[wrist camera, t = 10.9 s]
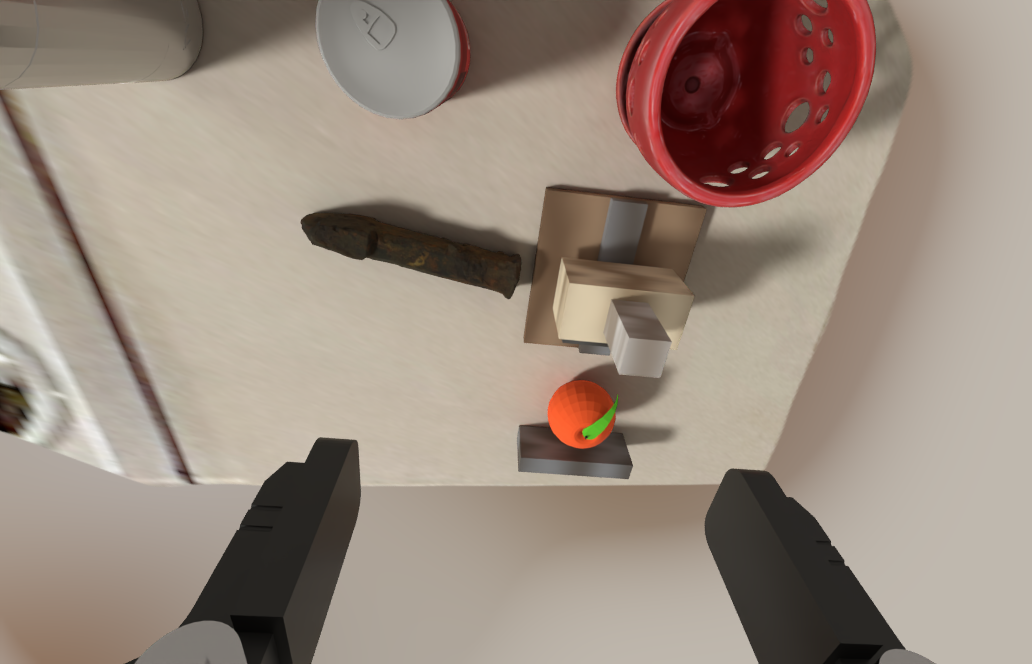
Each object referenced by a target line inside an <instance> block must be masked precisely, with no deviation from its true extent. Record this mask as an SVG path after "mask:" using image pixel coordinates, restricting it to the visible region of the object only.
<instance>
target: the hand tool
mask: <svg viewBox="0 0 1032 664" xmlns="http://www.w3.org/2000/svg"><path fill="white" fill-rule="evenodd" d="M301 224H302V229H303V231H304V232H305V234H306V235H307V237H308V239H309V240H310V241H311V243H312V244H313V245H316V246H319V247H322V248H325V249H328V250H332V251H334V252H337V253H340V254H342V255H344V256H347V257H350V258H353V259H359V260H363V259H365V258H371V259H373V260H378V261H383V262H387V263H392V264H396V265H399V266H401V267H405V268H409V269H413V270H416V271H420V272H423V273H427V274H431V275H434V276H438V277H442V278H446V279H450V280H453V281H457V282H461V283H465V284H469V285H474V286H478V287H482V288H486V289H490V290H493V291H496V292H499V293H502V294H503V295H504V297H506V298H507V299H510V298H511V297H512V295H513V293H514V290H515V288H516V285H517V283H518V281H519V278H520V271H521V257H520V255H519V254H515V255H512V256H508V255H506V254H505V253H503V252H501V251H498V252H492V251H488V250H485V249H482V248H480V247H477V246H471V245H469V244H460V243H456V242H452V241H450V240H447V239H445V238H439V237H434V236H430V235H426V234H422V233H418V232H414V231H411V230H407V229H403V228H399V227H395V226H392V225H388V224H384V223H381V222H379V221H377V220H376V219H375V218H371V217H366V216H360V215H353V214H336V213H313V214H309V215H306V216H305V217H304V218H303V219H301Z"/></svg>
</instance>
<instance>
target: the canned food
mask: <svg viewBox="0 0 1032 664" xmlns="http://www.w3.org/2000/svg"><path fill="white" fill-rule="evenodd" d="M315 27H316V34H317V42H318V46H319V49H320V52H321V56H322V59H323V61H324V63H325V65H326V67H327V69H328V71H329V73H330V75H331V76H332V78H333V79H334V81H335V82H336V83H337V85H338V86H339V87H340V89H341V90H342V91H343V92H344V93H345V94H346V95H347V96H348V97H349V98H350V99H351V100H353V101H354V102H355V103H357V104H358V105H359V106H361V107H362V108H364V109H366V110H368V111H370V112H372V113H374V114H377V115H380V116H383V117H386V118H394V119H409V118H416V117H418V116H421V115H424V114H427V113H429V112H430V111H432V110H434V109H435V108H437V107H438V106H440V105H441V104H443V103H444V102H445V101H447V100H448V99H449V98H451V97H452V96H453V95H454V94H455V93H456V92H457V91H458V90H459V88H460V87H461V85H462V84H463V82H464V80H465V78H466V75H467V73H468V69H469V63H470V43H469V37H468V34H467V31H466V28H465V25H464V22H463V21H462V19H461V17H460V15H459V13H458V12H457V10H456V9H455V8H454V6H453V5H452V4H451V2H450V1H449V0H318V4H317V8H316V24H315Z"/></svg>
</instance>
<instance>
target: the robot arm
mask: <svg viewBox="0 0 1032 664" xmlns="http://www.w3.org/2000/svg"><path fill="white" fill-rule="evenodd" d="M202 36H203V29H202V17H201V13H200V10H199V6H198V2H197V0H0V90H4V89H23V88H41V87H60V86H79V85H97V84H116V83H138V82H155V81H166V80H171V79H174V78H176V77H179V76H181V75H182V74H183V73H185V72H186V71H187V70H189V69H190V67H191V66H192V65H193V63H194V62H195V61H196V59H197V57H198V54H199V51H200V49H201V44H202ZM360 497H361V486H360V468H359V450H358V442H357V440H349V439H335V438H322V437H320V438H318V439H317V440H316V441H315V443H314V445H313V447H312V449H311V451H310V453H309V455H308V457H307V459H306V461H305V463H298V462H286V463H285V464H284V465H283V466H282V467H280V468H279V469H278V470H277V471H276V472H275V473H274V474H272V475H271V476H270V477H269V478H268V479H267V480H266V481H265V482H264V484H263V485H262V487H261V489H260V491H259V492H258V494H257V496H256V498H255V500H254V501H253V503H252V506H251V509H250V510H248V512H247V513H246V515H245V517H244V519H243V521H242V523H241V524H240V529H239V530H237V531H236V533H235V535H234V537H233V538H232V540H231V542H230V544H229V545H228V547H227V549H226V550H225V552H224V554H223V556H222V558H221V560H220V561H219V563H218V565H217V566H216V568H215V570H214V572H213V574H212V575H211V577H210V579H209V581H208V582H207V584H206V586H205V587H204V589H203V591H202V593H201V595H200V596H199V598H198V600H197V602H196V604H195V605H194V607H193V609H192V610H191V612H190V613H189V615H188V616H187V618H186V619H185V620H184V621H183V623H182V624H181V625H180V626H179V628H177V629H175V630H173V631H172V632H170V633H168V634H166V635H165V636H163V637H162V638H161V639H159V640H158V641H156V642H155V643H154V644H153V645H151V646H150V647H149V648H148V649H147V650H146V651H145V652H144V653H143V654H142V655H141V656H140V657H139V658H137V659H134V660H132V661H130V662H128V663H125V664H311V662H312V659H313V656H314V653H315V650H316V646H317V643H318V640H319V637H320V634H321V631H322V628H323V624H324V621H325V618H326V615H327V612H328V609H329V605H330V602H331V599H332V596H333V593H334V590H335V587H336V584H337V580H338V577H339V574H340V571H341V568H342V565H343V562H344V559H345V555H346V552H347V549H348V546H349V542H350V540H351V537H352V533H353V530H354V527H355V524H356V520H357V517H358V511H359V506H360ZM705 535H706V540H707V543H708V546H709V548H710V550H711V553H712V555H713V557H714V560H715V562H716V564H717V567H718V569H719V571H720V574H721V576H722V578H723V581H724V583H725V585H726V588H727V590H728V593H729V595H730V597H731V600H732V602H733V604H734V606H735V609H736V611H737V613H738V616H739V618H740V621H741V623H742V625H743V628H744V630H745V632H746V634H747V637H748V639H749V642H750V644H751V646H752V649H753V651H754V653H755V656H756V658H757V660H758V662H759V664H935V663H934V662H932V661H930V660H929V659H927V658H925V657H923V656H921V655H919V654H917V653H914V652H911V651H908V650H906V649H905V648H904V646H903V645H902V644H901V642H900V641H899V640H898V638H897V637H896V635H895V634H894V632H893V631H892V629H891V628H890V627H889V625H888V624H887V622H886V621H885V619H884V618H883V616H882V615H881V613H880V612H879V611H878V609H877V607H876V606H875V605H874V603H873V602H872V600H871V599H870V597H869V596H868V594H867V593H866V592H865V590H864V589H863V587H862V586H861V585H860V583H859V581H858V580H857V578H856V577H855V575H854V574H853V573H852V571H851V570H850V568H849V567H848V566H845V564H844V559H843V558H842V557H841V555H840V554H839V552H838V551H837V549H836V548H835V546H831V541H830V539H829V538H828V536H827V535H826V533H825V532H824V530H823V529H822V527H821V526H820V525H819V523H818V522H817V520H816V519H815V518H814V517H813V516H812V515H811V514H810V513H809V512H808V511H807V510H806V509H804V508H803V507H802V506H801V505H800V504H799V503H798V502H797V501H795V500H794V499H793V498H791V497H786V495H785V494H784V492H783V491H782V489H781V488H780V486H779V485H778V483H777V482H776V480H775V478H774V477H773V476H772V475H771V474H770V473H769V472H767V471H760V470H746V469H730V470H728V471H727V472H726V474H725V476H724V478H723V480H722V482H721V484H720V486H719V489H718V491H717V493H716V495H715V497H714V499H713V501H712V504H711V506H710V508H709V510H708V512H707V515H706V518H705Z"/></svg>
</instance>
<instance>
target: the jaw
mask: <svg viewBox="0 0 1032 664" xmlns="http://www.w3.org/2000/svg"><path fill="white" fill-rule="evenodd" d="M694 297H695V296H694V294H693V293H692V292H691V291H690V290H689V288H688V287H687V286H686V285H685V283H684V282H683V281H682V280H681V279H680V277H679V276H678V275H677V274H676V273H675V271H674V270H673V269H667V268H658V267H649V266H639V265H630V264H621V263H611V262H602V261H593V260H583V259H574V258H565V257H562V259H561V264H560V270H559V276H558V281H557V287H556V292H555V298H554V304H553V312H554V317H555V322H556V327H557V332H558V337H559V339H562V343H569V344H580V345H591V346H602V347H609V349H610V352H611V354H612V357H613V360H614V362H615V365H616V368H617V370H618V373H619V374H620V375H632V376H643V377H655V378H660V377H661V374H662V371H663V368H664V365H665V362H666V359H667V355H668V352H669V349H673V350H677V347H678V344H679V341H680V339H681V336H682V333H683V330H684V327H685V324H686V321H687V318H688V315H689V312H690V309H691V306H692V303H693V300H694Z"/></svg>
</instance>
